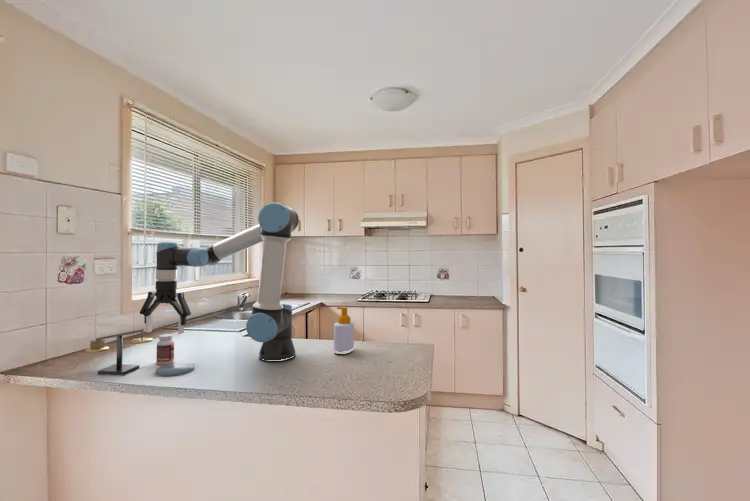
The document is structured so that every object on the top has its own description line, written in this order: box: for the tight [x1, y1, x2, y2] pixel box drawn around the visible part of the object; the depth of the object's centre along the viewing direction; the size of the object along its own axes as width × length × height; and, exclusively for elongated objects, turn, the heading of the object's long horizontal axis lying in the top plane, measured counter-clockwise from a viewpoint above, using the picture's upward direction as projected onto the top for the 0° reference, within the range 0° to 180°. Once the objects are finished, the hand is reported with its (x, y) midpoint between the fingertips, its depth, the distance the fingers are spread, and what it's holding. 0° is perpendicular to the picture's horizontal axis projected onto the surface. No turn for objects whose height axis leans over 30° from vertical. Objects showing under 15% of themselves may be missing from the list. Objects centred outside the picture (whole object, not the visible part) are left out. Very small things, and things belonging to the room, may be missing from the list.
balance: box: [85, 328, 154, 376], centre depth 138 cm, size 25×8×16 cm, turn 86°
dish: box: [155, 361, 195, 377], centre depth 140 cm, size 13×13×1 cm
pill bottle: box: [155, 333, 175, 366], centre depth 150 cm, size 6×6×11 cm
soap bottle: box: [333, 306, 355, 352], centre depth 170 cm, size 13×8×20 cm, turn 162°
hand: (164, 332), depth 150 cm, fingers open, 13 cm apart
